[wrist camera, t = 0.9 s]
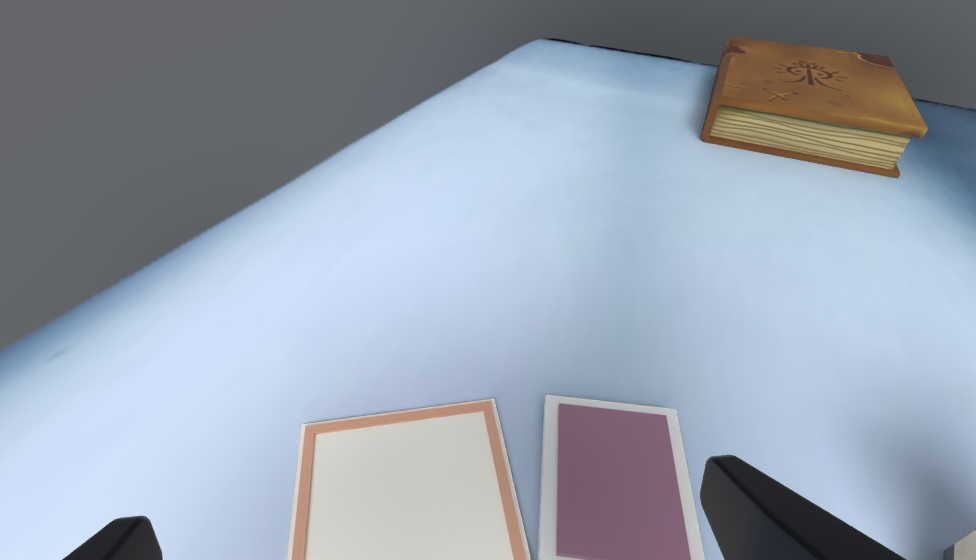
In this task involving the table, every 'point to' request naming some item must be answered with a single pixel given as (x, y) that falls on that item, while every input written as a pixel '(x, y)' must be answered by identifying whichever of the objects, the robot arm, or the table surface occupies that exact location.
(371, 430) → the marked card
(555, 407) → the ink pad
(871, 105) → the diary
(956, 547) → the stamp
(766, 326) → the table surface
